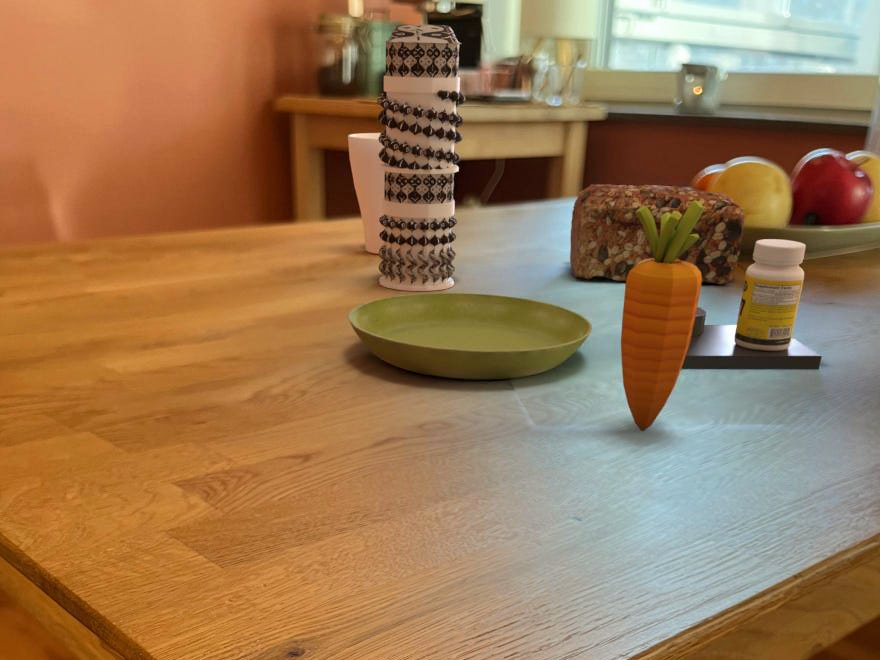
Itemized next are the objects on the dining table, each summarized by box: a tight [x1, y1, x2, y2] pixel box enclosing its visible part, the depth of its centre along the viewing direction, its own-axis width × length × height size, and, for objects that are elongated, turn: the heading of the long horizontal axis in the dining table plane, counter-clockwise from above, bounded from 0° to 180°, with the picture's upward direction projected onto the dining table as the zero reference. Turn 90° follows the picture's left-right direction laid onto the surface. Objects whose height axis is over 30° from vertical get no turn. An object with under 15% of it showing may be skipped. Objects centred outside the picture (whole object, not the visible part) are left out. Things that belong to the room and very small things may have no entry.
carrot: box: [620, 201, 704, 432], centre depth 68 cm, size 5×5×15 cm
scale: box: [681, 306, 823, 370], centre depth 90 cm, size 14×12×3 cm
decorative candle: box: [376, 23, 467, 292], centre depth 108 cm, size 9×9×25 cm
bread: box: [569, 183, 745, 285], centre depth 119 cm, size 19×11×10 cm, turn 86°
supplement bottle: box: [734, 238, 807, 351], centre depth 86 cm, size 5×5×8 cm
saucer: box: [347, 292, 593, 381], centre depth 87 cm, size 21×21×3 cm
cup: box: [347, 132, 385, 255], centre depth 129 cm, size 10×10×14 cm
